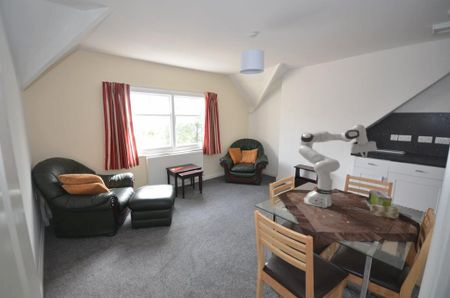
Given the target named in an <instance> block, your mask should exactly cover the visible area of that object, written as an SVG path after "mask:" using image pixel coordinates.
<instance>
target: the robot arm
mask: <svg viewBox="0 0 450 298" xmlns="http://www.w3.org/2000/svg"><path fill="white" fill-rule="evenodd" d="M353 140H355V141H353ZM330 141H343V142H346V143H348V142H351V141H353V142H351V143H350V153H351V154H359V153H360V154H361V156H362V158H367V157H368V153H369V152H376V151H378V147H377V142H376V141H374V140H370V141H369V139H368V136H367V130H366V127H365V125H363V124H356V125H354V126H353V127H351V128H350V129H347V130H346V131H344V132H342V133H330V132H328V131H325V130H317V131H312V132H305V133H302V135H301V136H300V147H299V149H298V153H299V155H301V156H302V157H303V158H304V159H305V160H306V161H308V162H309V163H311V164H312V165H313V170H314V172H315V173H316V174H317V186H316V185H313V190H312V191H309V192H308V193H307V194H306V196H305V197H304V198H303V201H304V203H305V204H306V205H309V206H313V207H314V206H315V207H320V208H323V209H324V208H325V209H326V208H328V207H331V206H332V205H333V204H332V193H333V189H332V188H333V179H332V178H331V173H334V172H336V171H338V170H339V169H340V166H341V164H340V162H339V160H337V159H333V158H331V157H328V156H326V155H324V154H323V153H322V154H321V153H319V152H318V151H316V150H315V149H314V148H313V145H314V143H326V142H330ZM364 153H365V154H364Z"/></svg>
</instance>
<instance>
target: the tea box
mask: <svg viewBox="0 0 450 298" xmlns="http://www.w3.org/2000/svg"><path fill="white" fill-rule="evenodd" d="M392 201H393V198H392V197H391V196H390V195H388V193H386V192H385V191H384V190H376V189H370V190H369V194H368V200H367V203H366V205H367V207H368V208H369V209H370V206H371V204H374V205H383V206H391V207H392Z"/></svg>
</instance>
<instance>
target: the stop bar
mask: <svg viewBox="0 0 450 298" xmlns="http://www.w3.org/2000/svg"><path fill="white" fill-rule="evenodd" d="M400 210H401V209H400V208H399V207H398V206H392V205H391V206H383V205H374V204H371V206H370V208H369V213H370V214H371V215H370V214H369V215H370V216H373V215H376V216H375V217H381V216H385V217H384V218H389V217H391V218H390V219H396V218H398V219H399V215H400Z"/></svg>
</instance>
